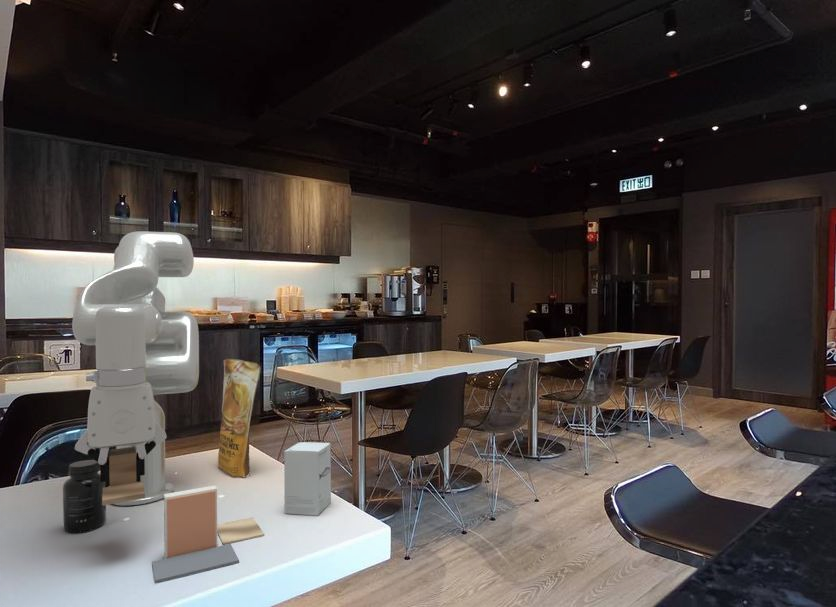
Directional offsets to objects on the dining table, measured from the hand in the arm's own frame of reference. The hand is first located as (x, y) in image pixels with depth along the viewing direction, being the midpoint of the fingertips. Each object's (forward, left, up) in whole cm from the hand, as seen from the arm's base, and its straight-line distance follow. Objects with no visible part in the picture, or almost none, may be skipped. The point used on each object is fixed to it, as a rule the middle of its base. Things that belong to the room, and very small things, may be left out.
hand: (123, 481), depth 91 cm
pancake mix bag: (-35, +26, -11) cm, 44 cm away
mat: (+14, +10, -11) cm, 21 cm away
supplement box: (+1, +33, -11) cm, 35 cm away
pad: (+5, +18, -11) cm, 22 cm away
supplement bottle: (-13, -6, -11) cm, 18 cm away
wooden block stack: (+3, 0, -1) cm, 3 cm away
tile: (+9, +10, -11) cm, 17 cm away
